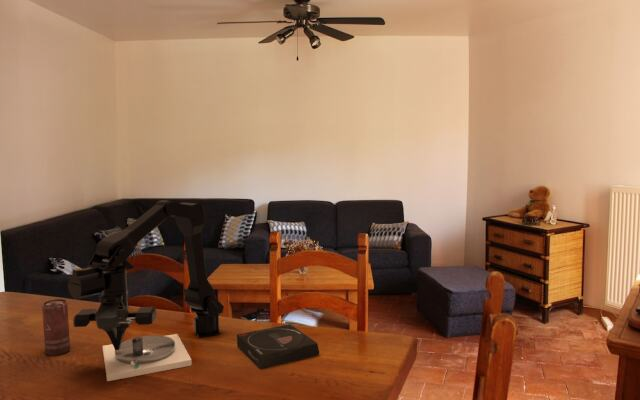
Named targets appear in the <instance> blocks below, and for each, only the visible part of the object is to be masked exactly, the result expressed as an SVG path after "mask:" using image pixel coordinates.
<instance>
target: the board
mask: <svg viewBox="0 0 640 400" xmlns="http://www.w3.org/2000/svg"><path fill="white" fill-rule="evenodd" d="M165 336H166V337H169V338H171V339H173V340H174V342H175V350H174V352H173V353H172V354H170V355H169V356H167V357H165V358H163V359H160V360H157V361H153V362H148V363H139V364H135V365H131V363H124V362H121V361H118V360H117V359H116V358H115V348H114V346H113V344H112V343H111V344H108V345H106V344H105V345H102V354H103V361H104V367H105V368H104V369H105V373H106V374H105V375H106V381H107V382H111V381H118V380H120V379H128V378H133V377H137V376H142V375H147V374H148V375H149V374H154V373H159V372H164V371H170V370H174V369H179V368H181V369H182V368H184V367H192V363H193V362H192V358H191V356H190V354H189V353H188V351H187V349H186V347H185V345H184V343H183V342H182V340H181V338H180V336H179V334H178V333H173V334H168V335H165Z"/></svg>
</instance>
